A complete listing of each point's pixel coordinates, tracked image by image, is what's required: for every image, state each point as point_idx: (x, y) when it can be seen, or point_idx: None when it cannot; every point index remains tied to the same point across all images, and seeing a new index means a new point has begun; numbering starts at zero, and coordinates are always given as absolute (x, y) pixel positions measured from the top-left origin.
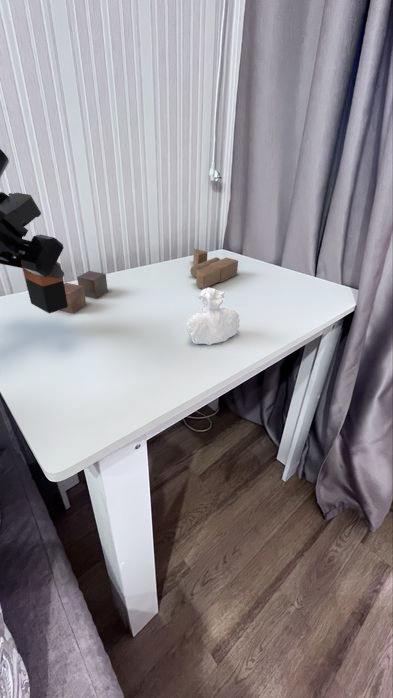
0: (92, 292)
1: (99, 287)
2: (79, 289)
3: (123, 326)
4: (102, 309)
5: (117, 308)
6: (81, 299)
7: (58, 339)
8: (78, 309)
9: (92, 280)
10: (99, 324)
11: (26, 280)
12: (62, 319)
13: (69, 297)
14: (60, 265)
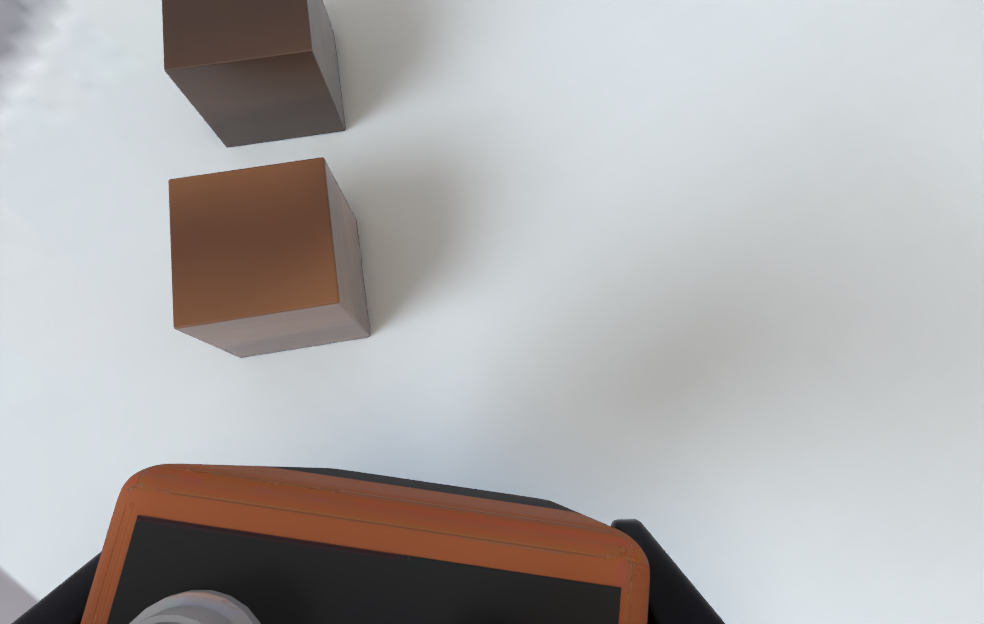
0: (311, 111)
1: (326, 56)
2: (330, 203)
3: (704, 286)
4: (466, 204)
5: (526, 151)
6: (347, 230)
7: None
8: (362, 285)
9: (299, 55)
10: (585, 342)
11: None
12: (367, 417)
13: (340, 310)
14: (640, 549)
